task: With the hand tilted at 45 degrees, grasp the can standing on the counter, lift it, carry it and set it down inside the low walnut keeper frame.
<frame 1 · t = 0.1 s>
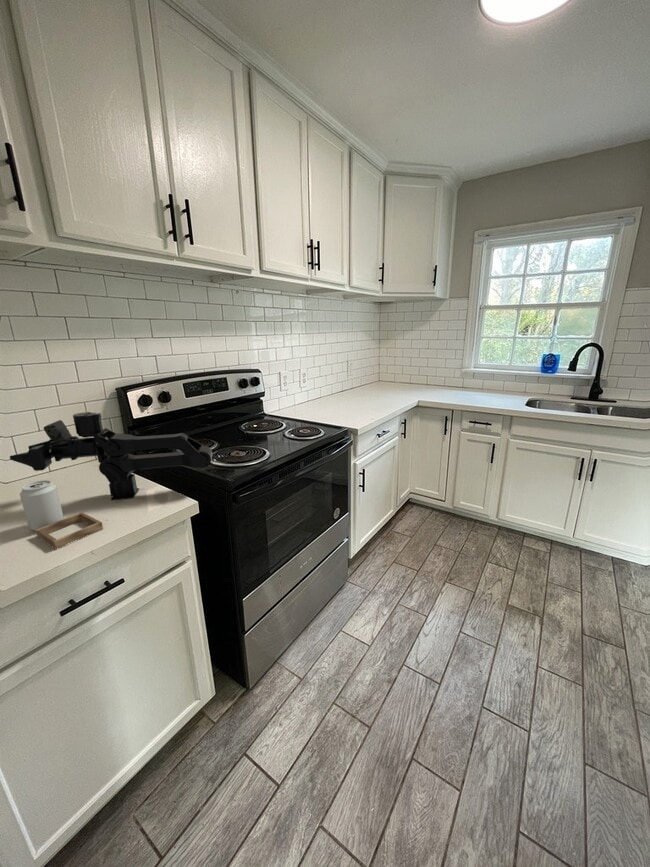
hand: (19, 452, 101), 17 cm above the counter, tool horizontal, fingers open, 9 cm apart
can: (47, 525, 94), on the counter
keeper frame: (70, 532, 90), on the counter
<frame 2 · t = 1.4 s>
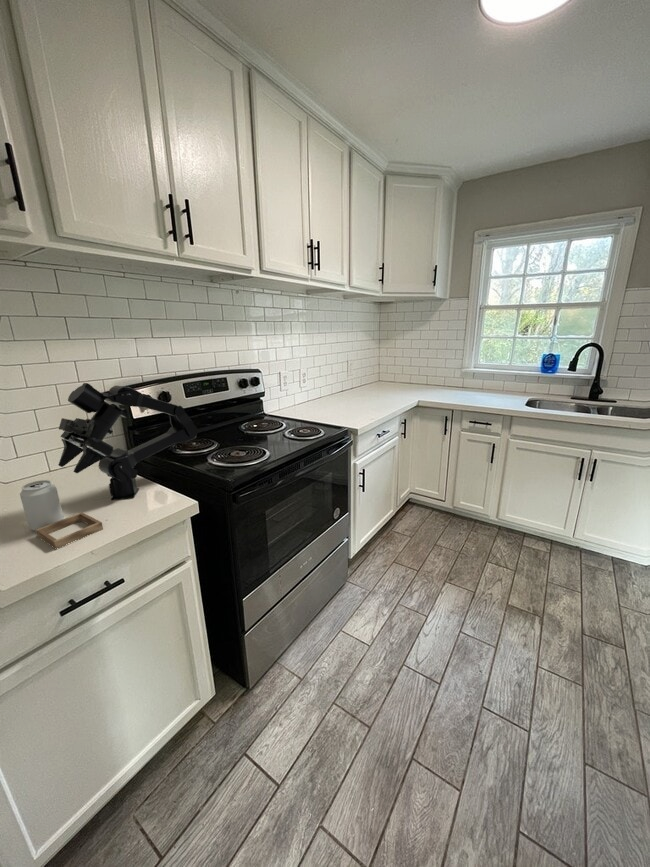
hand: (67, 469, 97), 13 cm above the counter, tool tilted 45°, fingers open, 9 cm apart
nothing on the counter moved.
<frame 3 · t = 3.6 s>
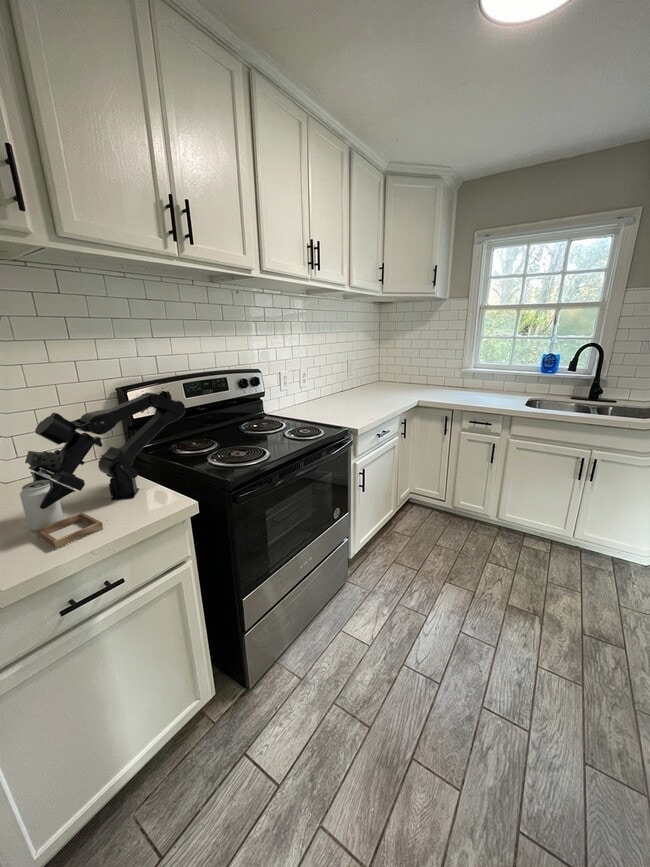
hand: (35, 504, 91), 7 cm above the counter, tool tilted 45°, fingers closed on can, 7 cm apart
can: (47, 525, 94), on the counter, touching gripper
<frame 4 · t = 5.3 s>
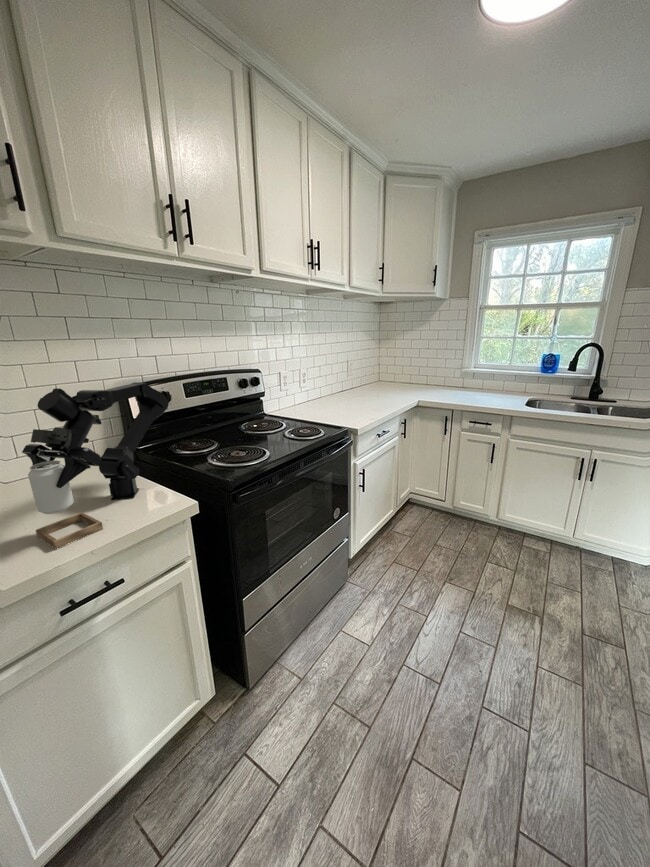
hand: (45, 486, 86), 13 cm above the counter, tool tilted 45°, fingers closed on can, 7 cm apart
can: (56, 509, 89), point 6 cm above the counter, touching gripper
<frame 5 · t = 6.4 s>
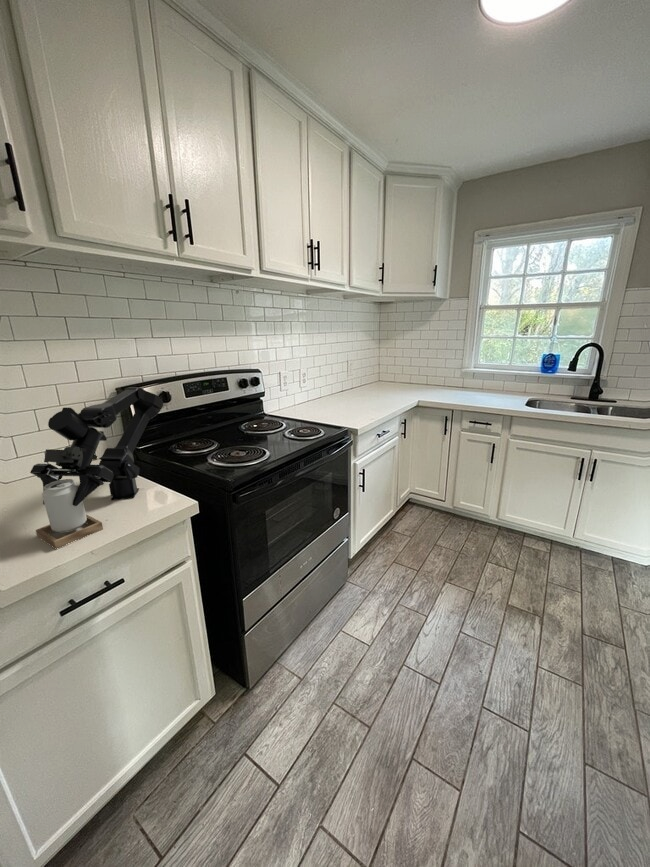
hand: (59, 505, 87), 8 cm above the counter, tool tilted 45°, fingers closed on can, 7 cm apart
can: (70, 526, 90), point 2 cm above the counter, touching gripper
when the fingers open (8 cm above the counter, at t = 7.1 s): can drops 1 cm, resting in keeper frame.
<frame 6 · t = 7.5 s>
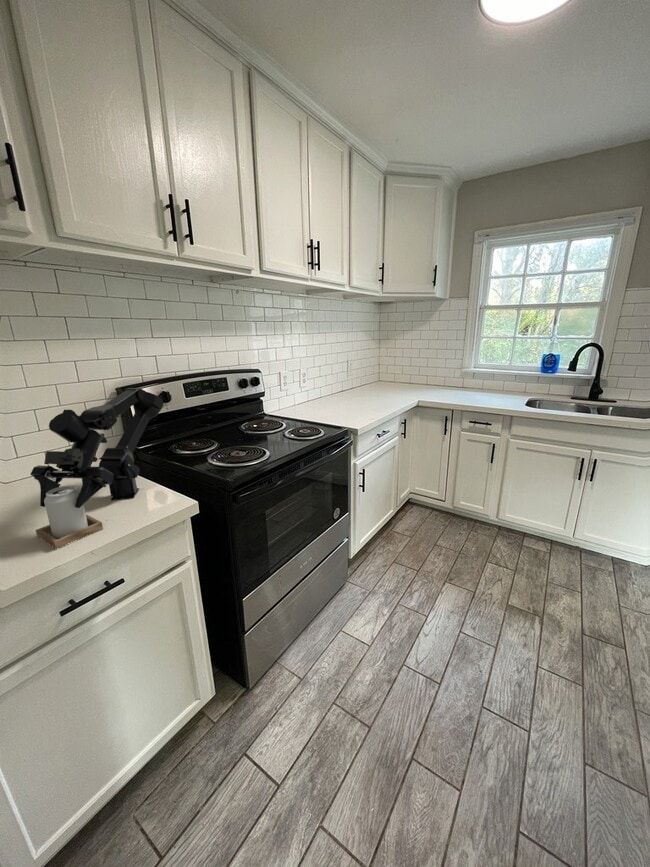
hand: (59, 507, 87), 8 cm above the counter, tool tilted 45°, fingers open, 9 cm apart
can: (71, 533, 90), resting in keeper frame
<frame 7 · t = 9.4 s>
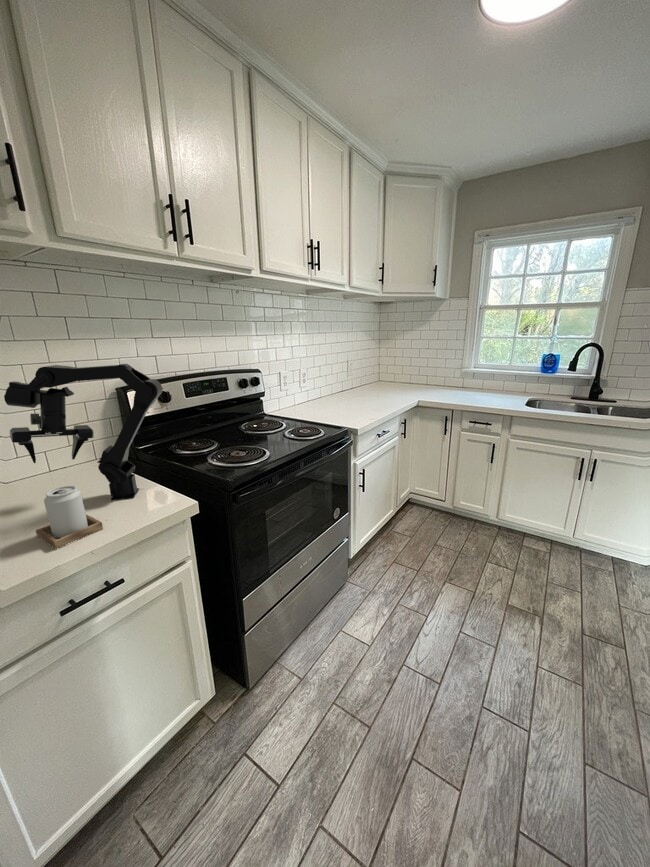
hand: (54, 460, 104), 13 cm above the counter, tool pointing down, fingers open, 9 cm apart
nothing on the counter moved.
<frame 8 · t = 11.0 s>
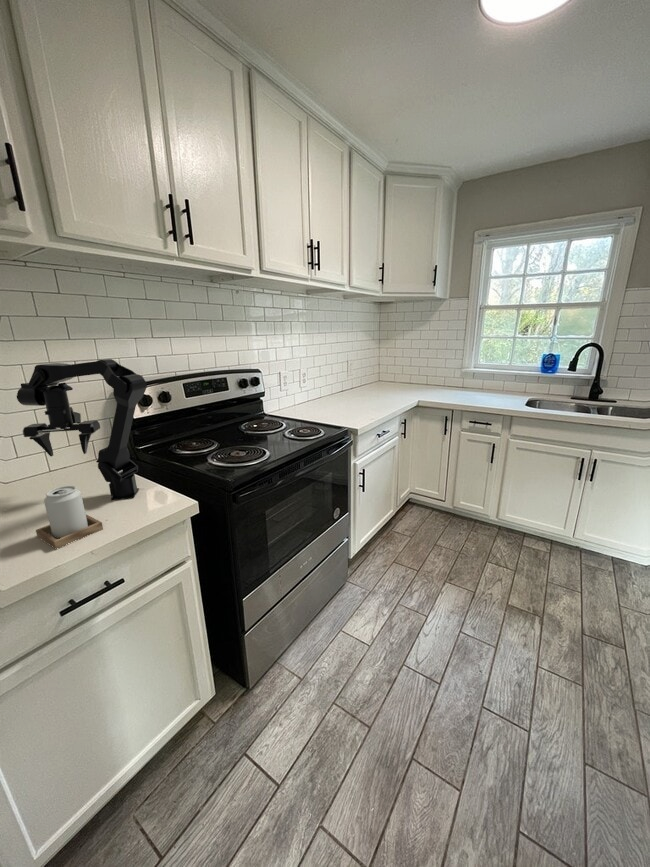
hand: (68, 454, 110), 13 cm above the counter, tool pointing down, fingers open, 9 cm apart
nothing on the counter moved.
at the end: can 0.2 cm from the keeper frame (horizontally); can tilted 0°; the gripper is holding nothing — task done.
